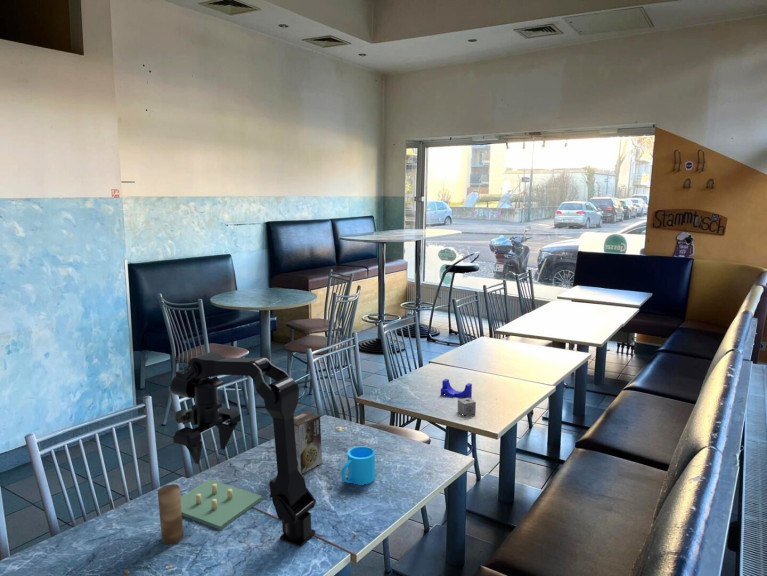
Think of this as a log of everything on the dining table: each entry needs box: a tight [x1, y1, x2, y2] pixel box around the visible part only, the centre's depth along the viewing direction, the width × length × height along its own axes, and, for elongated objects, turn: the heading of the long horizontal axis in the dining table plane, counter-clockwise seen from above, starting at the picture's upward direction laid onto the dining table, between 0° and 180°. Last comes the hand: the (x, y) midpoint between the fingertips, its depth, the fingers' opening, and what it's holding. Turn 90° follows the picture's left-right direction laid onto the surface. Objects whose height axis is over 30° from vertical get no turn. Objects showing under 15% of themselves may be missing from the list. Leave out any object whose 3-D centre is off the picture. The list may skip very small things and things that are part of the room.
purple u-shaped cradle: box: [440, 378, 473, 399], centre depth 229 cm, size 12×4×6 cm, turn 57°
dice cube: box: [457, 398, 477, 416], centre depth 212 cm, size 5×5×5 cm
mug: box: [340, 445, 376, 486], centre depth 162 cm, size 12×8×8 cm
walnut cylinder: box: [157, 483, 184, 546], centre depth 135 cm, size 5×5×13 cm
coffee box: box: [294, 410, 323, 475], centre depth 170 cm, size 9×6×16 cm
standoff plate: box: [180, 478, 263, 531], centre depth 151 cm, size 20×16×4 cm
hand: (210, 456), depth 147 cm, fingers open, 9 cm apart
